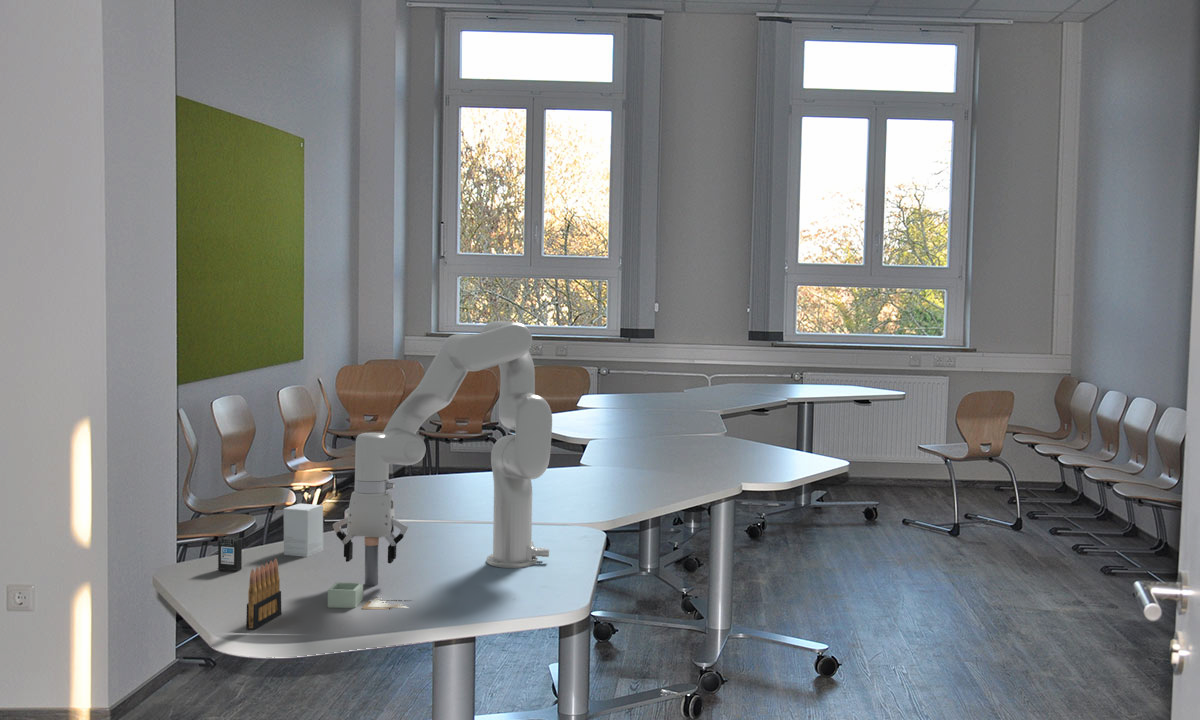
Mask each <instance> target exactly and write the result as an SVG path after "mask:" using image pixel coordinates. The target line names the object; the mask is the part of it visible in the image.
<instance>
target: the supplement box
mask: <svg viewBox="0 0 1200 720" xmlns="http://www.w3.org/2000/svg"><path fill="white" fill-rule="evenodd" d="M321 551H324V505H322V504H321V505H320V504H309V503H297V504H294V505H290V506H288V507H284V508H283V555H285V556H293V557H294V556H295V557H305V558H306V557H307V558H308V557H311V556H314V555H315V554H317V553H320V552H321Z"/></svg>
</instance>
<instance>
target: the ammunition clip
mask: <svg viewBox="0 0 1200 720" xmlns="http://www.w3.org/2000/svg"><path fill="white" fill-rule="evenodd" d="M248 585H249V586H248V600H247V602H248V603H246V621H245V622H246V627H245V628H246V630H250V631H251V630H252V631H255V630H257V629H259V628H261V627H263V626H264V625H266V624H268V623H269V622H271V621H273V620H275V619H276V618H278V617H280V616H282V590H280V589H281V587H280V573H279V563H278V560H277V558H274V560H273V561H272V560H270V562H269V563H268V562H265V564H261V565H260V568H259V567H258V566H257V567H256V568H255V570H254V568H252V569H251V572H250V574H249V584H248Z"/></svg>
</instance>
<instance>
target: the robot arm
mask: <svg viewBox="0 0 1200 720" xmlns="http://www.w3.org/2000/svg"><path fill="white" fill-rule="evenodd" d="M532 344H533V336H532V333H531V330H530V329H529V328H528V326H526V325H525V324H523V323H521V322H516V321H504V320H497V321H496V320H495V321H491V322H487V323H486V324H485V325H484V326H483V327H482V329H481V330H480V332H479V333H475V334H466V333H465V334H464V333H456V334H455V333H454V334H452V335H449V336H448V337H447V338H446V339H445V340H444V342H442V345H441V346H440V348H439V350H438V351H437V353H436V355H435V356H434V358H433V359H432V361H431V363H430V365H429V367H428V368H427V370H426V372H425V373H424V375H423V377H422V379H421V380H420V382H419V384H418V385H417V387H416V388H414V390H412V392H411V393H410V394H409V395H408V396H407V397H406V398H405V399H404V400H403V401H402V403H400V404H399V406H398V407H397V408H396V410H395V411H394V412H393V414H392V415H391V417H390V419H389V421H388V423H387V424H386V426H385V427H384V429H383V432H362V433H360V434H358V435H357V436H356V438H355V455H354V456H355V460H354V461H355V462H354V463H355V464H354V466H355V467H354V491H352V492H351V495H350V500H349V506H348V511H347V512H348V513H347V517H344V518H342V519H340V520H338V521H336V522H334V523H333V524H332V528H333V529H334V532H335V533H336V537H337V538H338V539H339V540H340V541H341V543H342V544H343V557H344V558H345V562H346V563H348V562H350V561H351V560H353V558H354V557H353V555H354V554H353V553H354V552H353V547H354V545H353V544H354V543H353V541H352V539H353V538H354V537H355V538H365V537H376V538H379V539H380V538H382V539H383V538H384V539H385V540H386V541H387V543H389V545H388V547H387V563H388V564H392V563H393V562H394V560H395V559H396V558H397V544H398V543H399V542H400V541H402V539H404V537H405V536H406V534H407V532H408V530H409V526H408V524H406V523H404V522H402V521H400V520H398V519H396V518H395V506H394V498H393V493H392V491H390V490H392V489H395V487H396V484H395V483H394V482H391V481H390V478H389V474H390V473H389V471H390V470H389V469H390V467H389V466H390V465H401V466H412V465H415V464H417V463H419V462H420V461H422V460H423V458H424V457H425V454H426V451H427V448H426V443H425V441H424V440H423V438H421V437H420V436H419V435H418V434H417V432H418V431H419V429H420V428H421V426H422V425H423V424H424V422H425V421H426V420H427V419H428V418H430V417H431V416H433V414H435V413H437V412H439V411H441V410H443V409H444V408H446V407H447V406H449V405H450V403H452V401H453V400H454V397H455V396H456V394H457V392H458V390H459V389H460V386H461V385H462V383H463V382H464V379H465V378H466V376H467V374H468V373H469V372H479V371H483V370H486V369H490V368H493V367H496V366H498V368H499V375H500V376H499V377H500V383H499V385H500V386H499V387H500V388H499V399H498V401H499V402H498V420H499V421H500V423H501V424H502V426H504V428H507V429H509V430H513V431H515V432H514V433H515V434H508V435H507V434H506V435H504V436H501V437H500V438H499V439H497V440H496V442H495V443H494V444H493V446H492V448H491V453H490V463H491V469H492V470H491V472H492V478H493V479H492V480H493V525H492V526H493V531H492V533H493V535H492V537H493V538H492V553H491V554H489V555H488V556H487V557H486V563H487V564H488V565H489V566H492V567H495V568H502V569H503V568H504V569H520V568H526V567H530V566H533V565H536V564H537V562H538V557H541V558H549V557H550V549H549V548H546V547H536V546H534V545H535V542H534V541H532V536H533V534H532V532H533V531H532V530H533V525H532V524H533V485H532V480H535V479H538V478H540V477H541V476H543V475H544V474H545V472H546V471H547V469H548V466H549V463H550V459H551V449H552V448H551V446H552V431H553V428H552V427H553V415H552V409H551V407H550V405H549V403H548V402H547V400H546V399H544V397H542V396H540V395H537V394H535V393H536V387H535V386H536V384H535V383H536V373H535V371H536V369H535V364H534V361H533V357H532V355H531V353H530V349H531V347H532ZM344 525H346V533H347V534H346V533H345V531H343V530H342V526H344ZM395 527H396V528H397V529H399V530H400V531H399V534H398V535H397V536H396V535H395V534H394V531H395Z"/></svg>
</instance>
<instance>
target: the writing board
mask: <svg viewBox="0 0 1200 720" xmlns="http://www.w3.org/2000/svg"><path fill="white" fill-rule="evenodd" d="M376 599H377V598H374V599H373V601H372V602H371V601H366V602H365V603H364V604H363V606H362V607H361V610H390V609H389V608H391V609H410V607H408V606H407V605H405V606H401V605H404V604H403V603H400V604H395V603H393V604H395V605H391V604H389V603H385V602H386V601H396V602H413V601H412V600H410V599H392V600H386V601H385V600H384V601H383V600H382V598H381V599H380V598H378V599H380V600H378V599H377V600H376ZM397 600H398V601H397ZM402 600H404V601H402ZM382 602H384V603H382ZM388 604H389V605H388ZM399 605H400V606H399Z"/></svg>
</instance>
